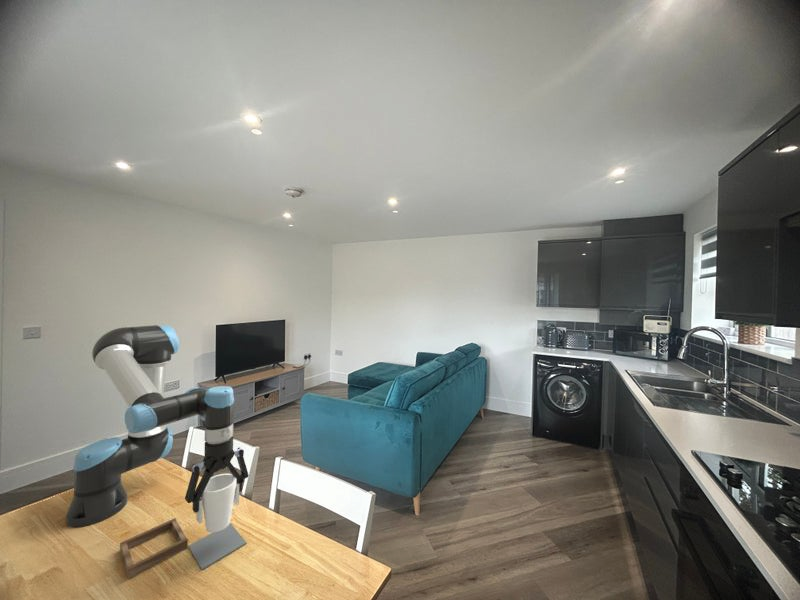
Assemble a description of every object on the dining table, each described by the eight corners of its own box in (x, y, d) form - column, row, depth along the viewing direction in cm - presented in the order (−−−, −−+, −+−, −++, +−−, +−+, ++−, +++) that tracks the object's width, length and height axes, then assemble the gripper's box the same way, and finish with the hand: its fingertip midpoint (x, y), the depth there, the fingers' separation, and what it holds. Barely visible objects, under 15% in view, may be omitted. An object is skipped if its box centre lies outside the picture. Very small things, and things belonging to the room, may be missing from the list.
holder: (120, 551, 89) (120, 542, 89) (175, 525, 99) (175, 517, 99) (128, 579, 81) (128, 569, 81) (187, 547, 91) (187, 539, 91)
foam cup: (218, 539, 86) (219, 494, 86) (192, 533, 88) (192, 490, 88) (242, 516, 95) (243, 475, 95) (217, 511, 97) (218, 471, 97)
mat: (188, 546, 91) (188, 545, 91) (230, 524, 100) (230, 523, 100) (201, 570, 84) (202, 569, 84) (246, 543, 93) (246, 542, 93)
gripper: (179, 457, 81) (178, 540, 81) (261, 430, 98) (260, 498, 98) (171, 448, 85) (170, 526, 86) (250, 423, 102) (250, 488, 103)
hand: (218, 511), depth 92 cm, fingers closed on foam cup, 9 cm apart
